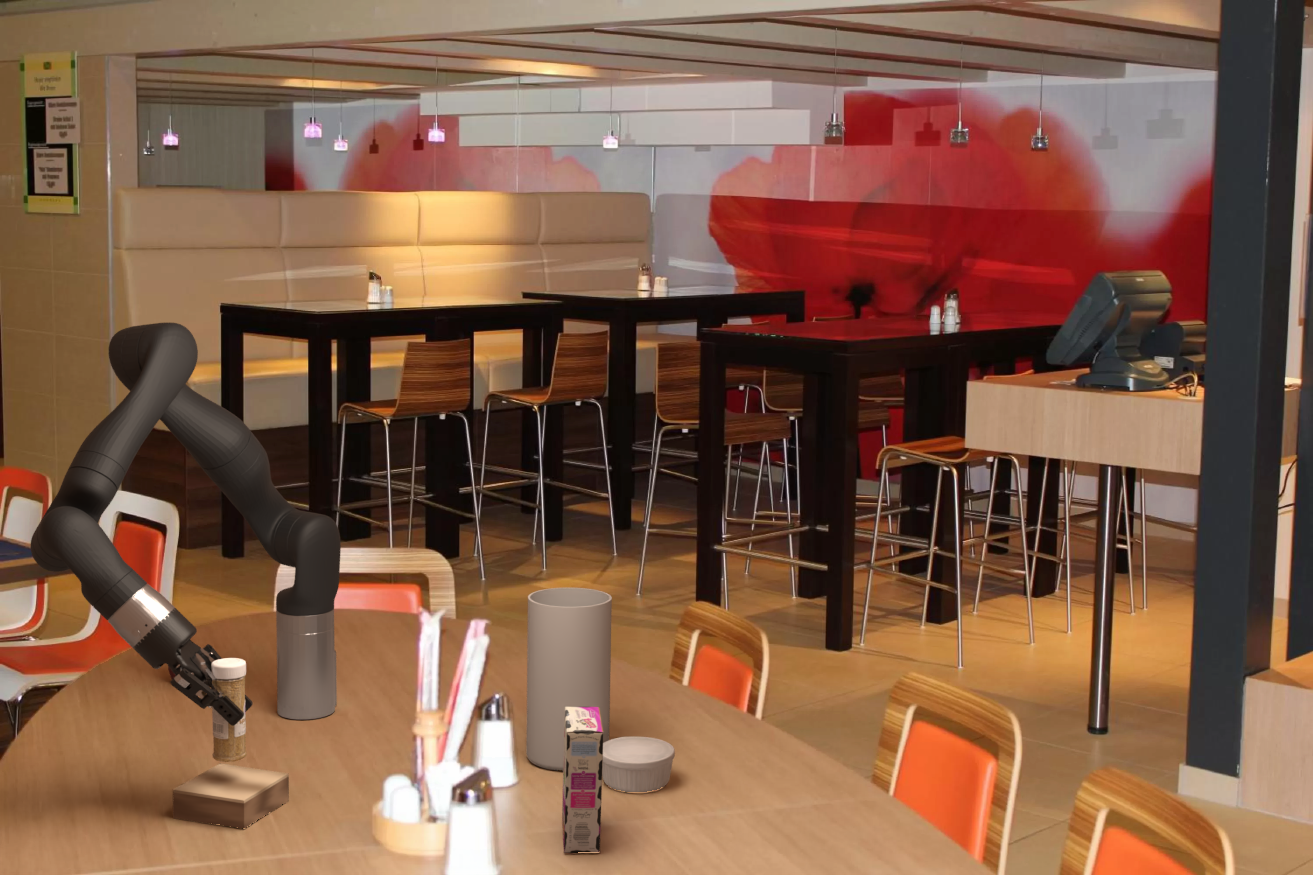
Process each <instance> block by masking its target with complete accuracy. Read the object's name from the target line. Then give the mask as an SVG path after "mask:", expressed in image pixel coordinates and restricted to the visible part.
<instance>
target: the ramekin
mask: <svg viewBox="0 0 1313 875" xmlns="http://www.w3.org/2000/svg"><path fill="white" fill-rule="evenodd" d="M675 756H676V751H675V747H674V746H673V745H672V744H671V743H669V742H668V741H665V740H663V739H659V738H657V737H650V736H649V737H647V736H621V737H620V736H619V737H617V738H611V739H609V741H606V742H604V743H603V768H602V781H603V783H604V784H605V785H606V786H607V785H608V786H609V787H611V788H613V789H616V790H621V791H625V792H647V791H652V790H657V789H660V788H661V787H664V786H665V785H666V786H667V785H668V783H669V781H670V778H671V774H672V773H671V771H672V767H673V762H674V761H673V760H674V758H675ZM608 786H607V787H608ZM666 786H665V787H666ZM609 787H608V788H609ZM665 787H664V788H665ZM611 788H610V789H611ZM613 789H612V790H613Z"/></svg>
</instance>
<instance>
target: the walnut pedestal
mask: <svg viewBox="0 0 1313 875" xmlns="http://www.w3.org/2000/svg"><path fill="white" fill-rule="evenodd" d="M289 780H290V776H289V773H288V772H282V771H276V770H274V771H273V770H268V769H263V768H254V767H249V766H248V767H247V766H243V765H242V766H241V765H235V764H227V763H221V762H219V763H218V764H216V765H215V766H213V767H210V768H209V769H207V770H206V771H203V772H202V773H200V774H198V775H197V776H195V777H192V778H191V779H189V780H187V781H185V782H184V783H181V784H180V785H178V786H176V787H175V788H173V789H172V817H173V819H176V820H182V819H183V820H182V821H189V822H194V821H195V823H200V822H203V823H202V824H207V823H210V824H209V825H213V824H215V825H214V826H217V825H216V824H220V825H224V826H223V827H225V826H231V827H238V828H246V827H247V826H249V825H250V824H252V823H253V822H255V821H256V820H258V819H259V818H262V817H263V816H264V815H266V816H268V815H269V814H268V813H269V812H271V811H273V810H274V811H275V809H276V808H277V809H279V808H280V807H282V806H283V805H282V804H284V805H286V803H287V804H288V802H289V801H290V787H289V786H290V785H289V783H290V782H289ZM278 807H279V808H278ZM277 809H276V810H277ZM274 811H273V812H274ZM271 813H272V812H271ZM267 814H268V815H267ZM263 818H264V817H263ZM263 818H262V819H263ZM211 823H212V824H211ZM255 823H256V822H255ZM252 825H253V824H252ZM231 827H230V828H231ZM249 827H250V826H249ZM238 828H237V829H238ZM246 829H247V828H246Z"/></svg>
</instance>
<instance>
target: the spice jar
mask: <svg viewBox="0 0 1313 875" xmlns="http://www.w3.org/2000/svg"><path fill="white" fill-rule="evenodd" d="M246 662H247V661H246V660H244V659H243V658H238V657H225V658H222V659H218V660H215V661H213V662H212V664H211V672H212V673H213V675H214V676H215V678H216V684H217V685H218V687H219V688H220V689H221V690H222V691H223V693H224V695H225V696H227V697H228V698H229V699H230V700H231V701H232V702H233V703H234V704H235V705H237V706H238V707H239V708H240V709H241V710H242V711H243V712H244V716H243V718H242V719H241V720H240V721H239V722H238V723H237V724H236V725H234V726H232V725H230V724H229V723H228V722H227V721H226V720H225V719H224V718H223V717H222V716H221V715H220V714H219V713H218V712H217V711H216V710H215V709H214V708H213V707H212V708H211V710H212V714H211V715H212V736H213V742H212V744H213V751H212V752H213V753H212V758H213V760H215V761H218V762H220V763H221V762H223V763H230V762H231V763H232V762H233V763H234V762H238V761H240V760H243V759H245V758H246V756H247V750H246V748H247V746H246V744H247V743H246V742H247V741H246V738H247V737H246V733H247V727H246V726H247V724H246V723H247V721H246V715H247V714H246V712H245V695H246V693H245V692H246V690H245V688H246V686H245V684H246V675H247V663H246Z"/></svg>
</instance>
